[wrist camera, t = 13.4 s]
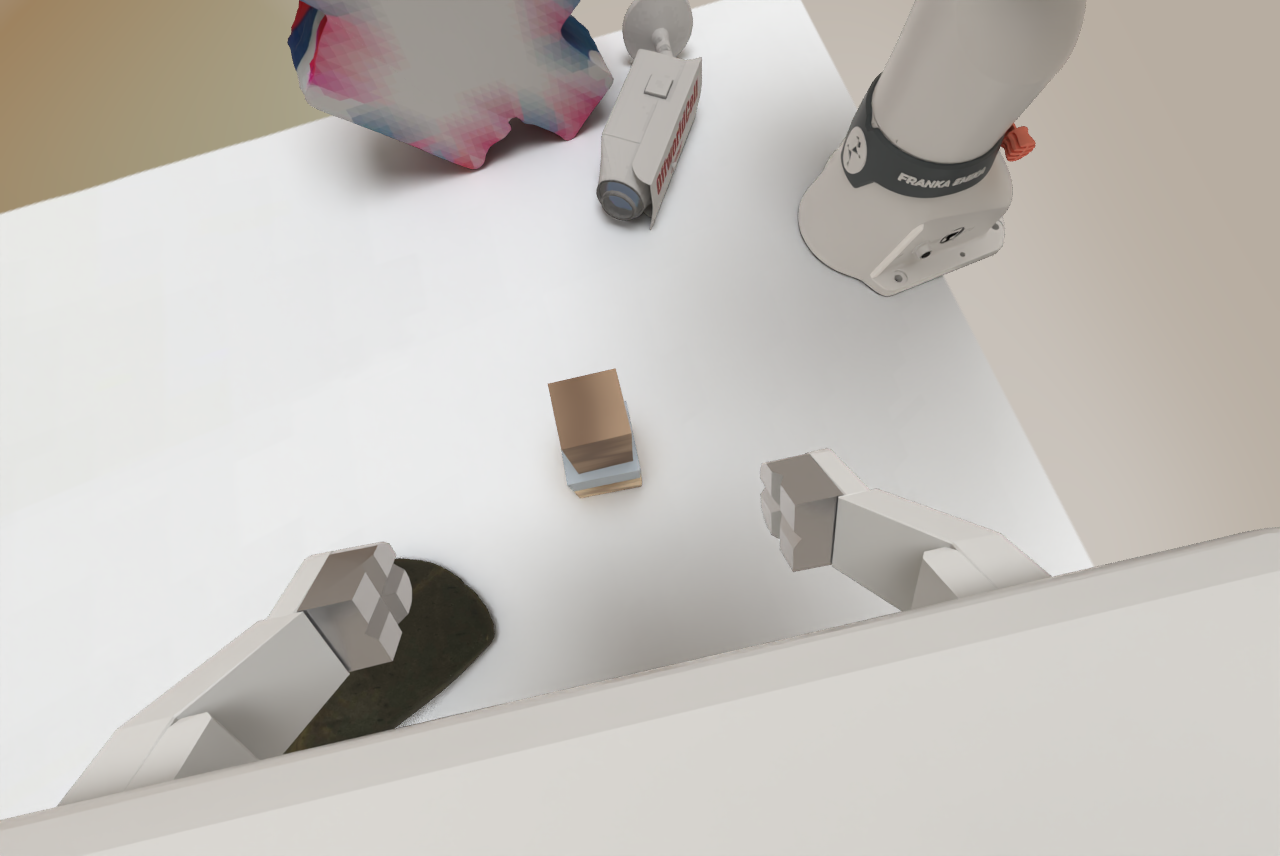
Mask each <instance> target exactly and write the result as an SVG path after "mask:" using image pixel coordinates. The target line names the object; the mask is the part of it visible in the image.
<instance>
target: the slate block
mask: <svg viewBox="0 0 1280 856" xmlns="http://www.w3.org/2000/svg"><path fill="white" fill-rule="evenodd" d="M624 404H625V408H626V412H627V416H628V420H629V424H630V428H631V432H632V451H633V461H631V462H627V463H622V464H618V465H614V466H610V467H606V468H602V469H598V470H593V471H589V472H585V473H581V474H578V472H577V471H576V470H575V468H574V467H573V465H572V464H571V462H570V461H569V460H568V458H567V457H566V455H565V454H564V453H563V451H562V450H561V451H562V457H563V463H564V468H565V474H566V480H567V485H568V486H569V487H570V488H571V489H572V490H573V491H579V490H584V489H588V488H593V487H598V486H603V485H608V484H613V483H617V482H622V481H627V480H632V479H637V478H640V474H641V469H640V464H639V460H638V455H637V450H636V446H635V441H634V436H633V431H632V427H631V422H630V417H629V413H628V408H627V403H626V401H624Z"/></svg>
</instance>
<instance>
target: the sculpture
mask: <svg viewBox="0 0 1280 856" xmlns="http://www.w3.org/2000/svg"><path fill="white" fill-rule="evenodd" d="M579 2H580V0H299V8H298V10H297V14H296V17H295V21H294V23H293V25H292V27H291V28H292V29H291V31H292V32H291V35H290V37H289V38H288V45H289V47H290V49H291V54H292V59H293V63H294V66H295V69H296V71H297V75H298V79H299V85H300V89H301V90H302V92H303V94H304V95H305V99H306V101H307V102H308V104H310V105H311V106H312V107H314V108H316V109H318V110H320V111H324V112H326V113H328V114H331V115H334V116H336V117H339V118H342V119H344V120H347V121H350V122H352V123H355V124H358V125H360V126H363V127H365V128H368V129H371V130H373V131H376V132H378V133H381V134H384V135H386V136H389V137H391V138H394V139H396V140H399V141H402V142H404V143H407V144H409V145H412V146H414V147H417V148H419V149H421V150H424V151H426V152H428V153H431V154H433V155H435V156H438V157H440V158H442V159H445V160H447V161H450V162H453V163H455V164H458V165H461V166H463V167H466V168H469V169H477V168H479V167H481V166H482V165H483V164H484V161H485V157H486V153H487V151H488V150H489V148H490V146H492V145H493V144H495V143H496V142H498V141H500V140H502V139H503V138H505V137H506V136H507V134H508V133H509V132H510V131H511V126H510V124H509V123H508V122H509V121H510V120H511V118H515V117H517V118H519V119H521V121H522V122H523V123H525V124H534V125H537V126H539V127H541V128H544V129H546V130H549V131H552V132H554V133H555V134H557V135H559V136H561V137H562V138H563V139H564V140H566V141H568V140H571V139H572V138H573V137H575V135H576V134H577V132H578V131H579V130H580V128H581V127H582V125H583V124H584V122H585V121H586V119H587V118H588V117H589V115H590V114H591V112H592V111H593V110H594V108H595V107H596V106H597V104H598V103H599V102H600V100H601V99H602V98H603V96H604V95H605V94H606V92H607V91H608V89H609V88H610V87H611V85H612V83H613V77H612V75H611V73H610V72H609V70H608V68H607V66H606V64H605V63H604V60H603V58H602V56H601V54H600V52H599V51H598V49H597V46H596V44H595V42H594V41H593V39H592V38H591V36H590V34H589V31H588V30H587V29H586V28H585V27H584V26H583V25H582V24H581V23H579V22H578V21H577V20H576V19H575V18H574V17H573V16H572V15H571V13H572V11H573V10H574V9H575V7H576V6H577V5H578V3H579Z"/></svg>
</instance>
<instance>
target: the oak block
mask: <svg viewBox="0 0 1280 856" xmlns="http://www.w3.org/2000/svg"><path fill="white" fill-rule="evenodd" d="M641 486H642V478H641V474H640V478H637V479H632V480H627V481H622V482H617V483H613V484H608V485H603V486H598V487H593V488H588V489H584V490H579V491H575V494H576V495H577V496H578V497H579V498H584V497H589V496H594V495H600V494H605V493H610V492H615V491H620V490H625V489H630V488H635V487H641Z"/></svg>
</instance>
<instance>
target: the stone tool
mask: <svg viewBox="0 0 1280 856" xmlns="http://www.w3.org/2000/svg"><path fill="white" fill-rule="evenodd" d="M393 564H395V565H397V566H399V567H400V568H402V569H404V570H405V571H406V573H407V575H408V577H409V579H410V583H411V587H412V603H411V606H410V610H409V613H408V615H407V616H406V617H405V618H404V619H403V620H402V621H401V622H400V623H399V624H398V626H399V628H400V629H401V631H402V635H401V638H400V641H399V644H398V647H397V650H396V653H395V656H394V659H393V661H391V662H387V663H383V664H379V665H375V666H371V667H367V668H363V669H359V670H355V671H351V672H349V673H350V674H349V676H348V677H347V678H346V679H345V680H344V682H343V683H342V684H341V685H340V686H339V688H338V689H337V690H336V691H335V692H334V694H333V695H332V696H331V697H330V698H329V700H328V701H327V702H326V703H325V704H324V706H323V707H322V708H321V709H320V710H319V712H318V713H317V714H316V715H315V716H314V718H313V719H312V720H311V721H310V722H309V724H308V725H307V726H306V727H305V728H304V730H303V731H302V732H301V733H300V734H299V736H298V737H297V738H296V739H295V740H294V742H293V743H292V744H291V745H290V746H289V748H288V749H287V750H286V751H285V752H284V753H283V755H284V754H288V753H292V752H297V751H301V750H305V749H310V748H314V747H318V746H323V745H327V744H331V743H336V742H340V741H344V740H349V739H353V738H357V737H362V736H366V735H370V734H375V733H379V732H383V731H387V730H392V729H394V728H395V727H397V726H398V725H399V724H401V723H402V722H403V721H405V720H406V719H407V718H409V717H410V716H411V715H412V714H414V713H415V712H416V711H418V710H419V709H420V708H422V707H423V706H424V705H425V704H427V703H428V702H429V701H430V700H432V699H433V698H434V697H435V696H437V695H438V694H439V693H440V692H441V691H442V690H444V689H445V688H446V687H447V686H448V685H449V684H451V683H452V682H453V681H454V680H455V679H456V678H457V677H458V676H459V675H460V674H461V673H463V672H464V671H465V670H466V669H467V668H468V667H469V666H470V665H471V664H472V663H473V662H474V661H475V659H476V658H477V657H478V656H479V655H480V654H481V653H482V652H483V651H484V650H485V649H486V648H487V647H488V646H489V645H490V643H491V642H492V641H493V639H494V624H493V622H492V619H491V617H490V614H489V612H488V610H487V608H486V606H485V605H484V604H483V603H482V601H481V600H480V599H479V598H478V596H477V594H476V593H475V592H474V591H473V590H472V589H470V588H469V587H468V586H466V585H464V583H463V582H462V580H461V579H460V578H458V577H457V576H455V575H454V574H453V573H451V572H450V571H448V570H446V569H444V568H442V567H441V566H438V565H436V564H433V563H431V562H425V561H422V560H419V561H418V560H413V559H411V560H410V559H400V558H399V559H395V560H394V563H393Z"/></svg>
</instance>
